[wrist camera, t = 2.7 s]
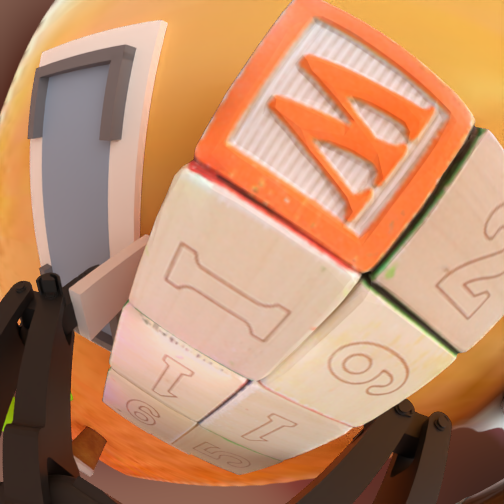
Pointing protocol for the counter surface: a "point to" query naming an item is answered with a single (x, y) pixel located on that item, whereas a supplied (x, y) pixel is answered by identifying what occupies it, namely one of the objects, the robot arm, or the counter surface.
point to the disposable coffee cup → (87, 450)
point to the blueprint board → (91, 149)
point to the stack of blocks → (312, 250)
